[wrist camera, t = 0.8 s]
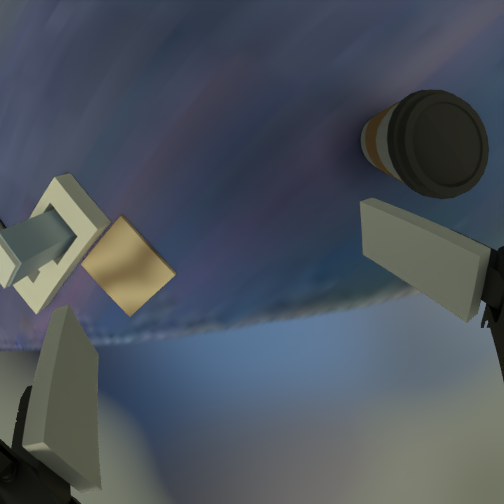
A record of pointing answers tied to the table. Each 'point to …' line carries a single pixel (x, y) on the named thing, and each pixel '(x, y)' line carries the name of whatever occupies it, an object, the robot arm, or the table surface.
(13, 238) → the pale grey tall block
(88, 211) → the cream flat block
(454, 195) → the coffee cup
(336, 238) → the table surface
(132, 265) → the coaster
